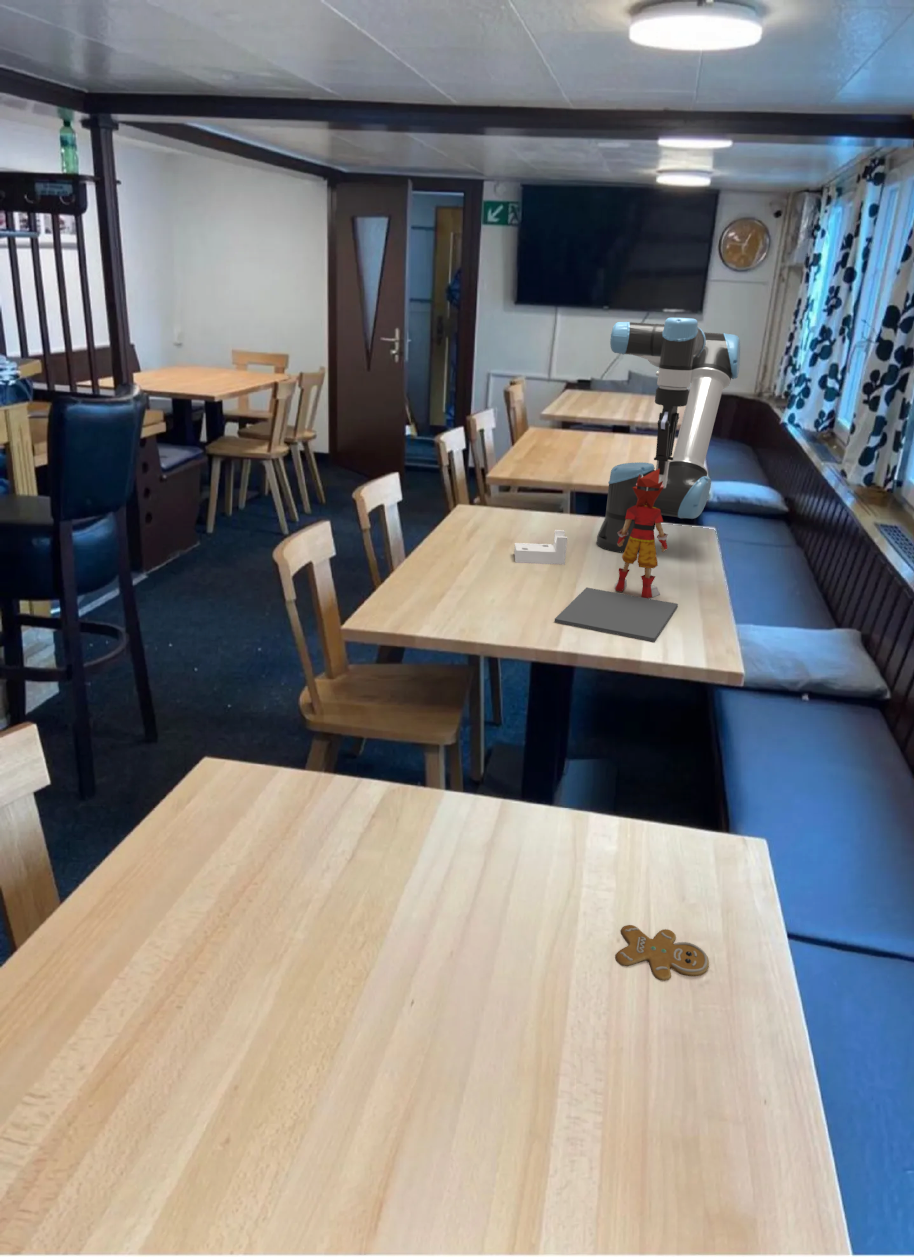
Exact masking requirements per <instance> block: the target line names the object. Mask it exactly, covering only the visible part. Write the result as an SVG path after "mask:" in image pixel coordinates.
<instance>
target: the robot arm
mask: <svg viewBox="0 0 914 1257" xmlns="http://www.w3.org/2000/svg"><path fill="white" fill-rule="evenodd" d="M698 322H699V321H698V320H697V319H695V318H691V317H668V318H666V320H665V321H664V324H663V323H661V324H660V323H648V322H647V323H646V322H632V321H618V322H615V323H614V325H613V327H612V330H611V332H610V333H611V334H610V341H609V342H610V349H611V352H613V353H614V354H621V355H630V356H636V357H639V358H642V359H645V360H647V361H648V362H649V364H651V365H652V366H653V367H657V368H659V369H658V371H656V372H655V375H656V377H657V380H656V381H657V382H656V385H657V386H658V387H657V388H656V389H655V395H654V396H655V397H654V403H655V404H656V405H658V406H662V410H661V412H659V415H658V416H659V417H658V421H657V438H656V448H655V449H656V451H655V457H653V461H656V466H655V465H654V464H653V463H651V462H641V461H640V462H626V463H621V464H617V465H615V466H613V467H612V468H611V471H610V475H609V480H608V489H607V490H608V491H607V501H606V507H605V508H606V510H605V517H604V520H603V521H602V523H601V526H600V529H599V530H598V533H597V536H596V545H597V546H598V547H600V548H602V549H605V550H608V551H612V552H618V553H624V551H625V548H626V546H627V543H628V540H629V537H630V535H631V532H632V530H633V527H634V522H635V521H634V520H633V519H632V521H631V524H630V526H629V528H628V533H629V534H628V535H627V536H626V537H625V538H624V542H623V545H622V546H620V547H619V546H618V545H617V543H618V540H619V535H618V533H617V532H619V531H620V530H621V529H622V528H623V527H624V524H625V520H626V519H625V517H626V513H627V509H629V508H631V507H633V506H635V505H636V504H637V500H638V498H637V496H636V494H635V492H634V490H633V488H632V487H636V486H637V485H636V484H637V480H638V477H639V474H640V477H642V475H643V477H644V476H646V475H648V474H650V473H652V472H653V471H655V470H657V469H659V468H660V471H659V478H660V477H661V476H662V477H661V481H660V482H662V481H663V483H662V484H663V486H664V488H663V489H662V491H661V493H660V494H659V496H658V497H657V499H656V501H655V503H654V505H653V507H656V508H658V509H660V512H661V516H668V517H674V518H679V519H691V520H693V519H696V518H699V516H700V515H701V514H702V512H703V511H704V508H705V507H706V504H707V502H708V499H709V496H710V491H711V488H712V487H711V486H712V479H711V478H710V477H709V476H708V473H709V472H708V470H707V468H705V461H706V458H707V454H708V451H709V450H708V449H709V445H710V441H711V438H712V434H713V431H714V430H713V429H714V425H715V422H716V417H717V413H718V409H719V405H720V401H721V398H722V393H723V390H725V389H726V388H728V387H729V386H730V384H731V380H734V379H737V378H738V377H739V373H740V366H741V365H740V362H741V340H740V337H739V336H738V335H737V334H730V333H726V332H723V333H720V332H704V331H703V330H702V328H701V327H699V324H698ZM688 388H690V389H688ZM678 407H680V408H681V407H685V408H684V412H683V416H682V420H681V424H680V427H679V428H680V429H679V431H678V435H677V440H676V444H675V439H676V433H677V428H678V424H679V423H678V422H679V419H680V413H679V412H678ZM674 445H675V446H674ZM673 450H674V451H673ZM641 505H643V504H641ZM639 550H640V548H639ZM639 550H638V553H639Z"/></svg>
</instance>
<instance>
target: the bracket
mask: <svg viewBox="0 0 914 1257" xmlns="http://www.w3.org/2000/svg"><path fill="white" fill-rule="evenodd" d="M565 535H566V531H565V530H564V529H554V534H553V543H552V544H550V543H549V544H548V543H531V542H530V543H527V542H525V543H523V542H514V549H513V550H514V551H513V552H514V560H515V561H514V562H515V563H516V564H518V563H521V564H523V563H524V564H542V565H544V564H545V565H547V564H548V565H564V566H565V565H566V558H567V557H566V556H567V555H566V554H567V544H568V536H565Z"/></svg>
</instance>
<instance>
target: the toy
mask: <svg viewBox="0 0 914 1257" xmlns="http://www.w3.org/2000/svg"><path fill="white" fill-rule="evenodd" d="M654 470H655V471H653V472H652V473H650V474H648V475H646V476H644V477H643V475H642V477H640V474H639V477H638V480H637V484H636V485H637V486H636V487H632V488H633V490H634V492H635V494H636V496H637V498H638V500H637V504H636V505H635V506H633V507H631V508H629V509H627V513H626V517H625V519H626V520H625V524H624V527H623V528H622V529H621V530H620V531H619V532H617V533H618V535H619V540H618V543H617V545H618V546H619V547H620V546H622V545H623V542H624V538H625V537H626V536H627V535H628V534H629V533H628V528H629V526H630V524H631V521H632V519H633V520H634V521H635V522H634V527H633V530H632V532H631V535H630V537H629V540H628V543H627V546H626V548H625V551H624V552H622V556H621V558H622V561H623V562H624V564H623V568H622V567H619V568H618V573H619V574H618V579H617V581H616V582H615V583H614V589H615V591H616V592H620V593H622V592H623V591H624V590H625V589H626V588H627V586H628V582H627V579H626V578H627V576H628V574H629V572H630V571H631V570H630V569H629V568H630V564H631V565H634V563H635V562H637V565H638V568H644V574H643V575H640V578H641V580H642V581H641V582H642V588H641V594H640V597H643V598H649V599H652V598H653V597H656V596H660V590H659V589H658V587H657V586H656V585H653V582H654V580H655V578H656V576H655V575H652V574H651V573H652V569H655V568H657V567H658V566H659V565H658V564H659V563H658V558H657V550H656V539H657V540H658V542H659V543H660V549H661V553H663V552H665V551H666V550H668V544H667V538H668V537H669V536H668V535H669V534H668V533H665V532H664V528H663V527H662V523H663V522H664V519H663V515H661V512H660V509H658V508H656V507H653V505H654V503H655V501H656V499H657V497H658V496H659V494H660V493H661V491H662V489H663V488H664V486H663V484H662V483H663V481H662V482H660V481H661V477H662V476H661V477H660V478H659V471H660V468H659V469H657V470H656V469H654ZM641 504H643V505H641ZM655 529H656V531H657V532H658V534H657V535H656V539H655ZM639 548H640V550H639ZM638 550H639V552H638Z"/></svg>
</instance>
